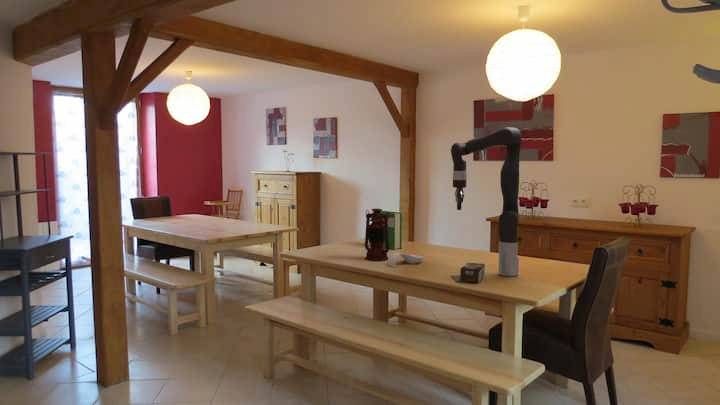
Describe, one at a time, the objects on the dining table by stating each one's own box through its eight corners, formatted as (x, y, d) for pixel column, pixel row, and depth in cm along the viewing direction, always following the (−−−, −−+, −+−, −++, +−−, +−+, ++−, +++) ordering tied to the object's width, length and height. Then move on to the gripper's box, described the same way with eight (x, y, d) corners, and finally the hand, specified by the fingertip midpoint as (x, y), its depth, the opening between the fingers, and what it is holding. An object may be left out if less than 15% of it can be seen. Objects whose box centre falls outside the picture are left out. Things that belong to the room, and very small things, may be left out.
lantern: (358, 259, 296) (358, 209, 293) (371, 255, 307) (371, 207, 304) (382, 262, 286) (382, 210, 283) (395, 258, 297) (395, 208, 294)
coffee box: (485, 263, 253) (479, 269, 238) (484, 275, 253) (478, 283, 238) (467, 261, 256) (460, 267, 241) (466, 273, 257) (459, 280, 242)
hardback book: (401, 248, 330) (401, 212, 327) (394, 250, 325) (394, 213, 322) (382, 245, 342) (382, 210, 340) (374, 246, 337) (374, 211, 335)
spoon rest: (412, 259, 296) (412, 247, 295) (427, 262, 287) (427, 250, 286) (384, 265, 280) (384, 252, 279) (399, 269, 271) (399, 256, 271)
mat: (474, 276, 254) (474, 275, 254) (480, 281, 242) (480, 281, 242) (451, 276, 254) (451, 275, 254) (456, 282, 242) (456, 281, 242)
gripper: (469, 179, 271) (468, 211, 273) (463, 178, 284) (462, 208, 286) (455, 179, 271) (455, 211, 272) (450, 178, 284) (449, 208, 285)
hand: (459, 209), depth 279 cm, fingers closed
